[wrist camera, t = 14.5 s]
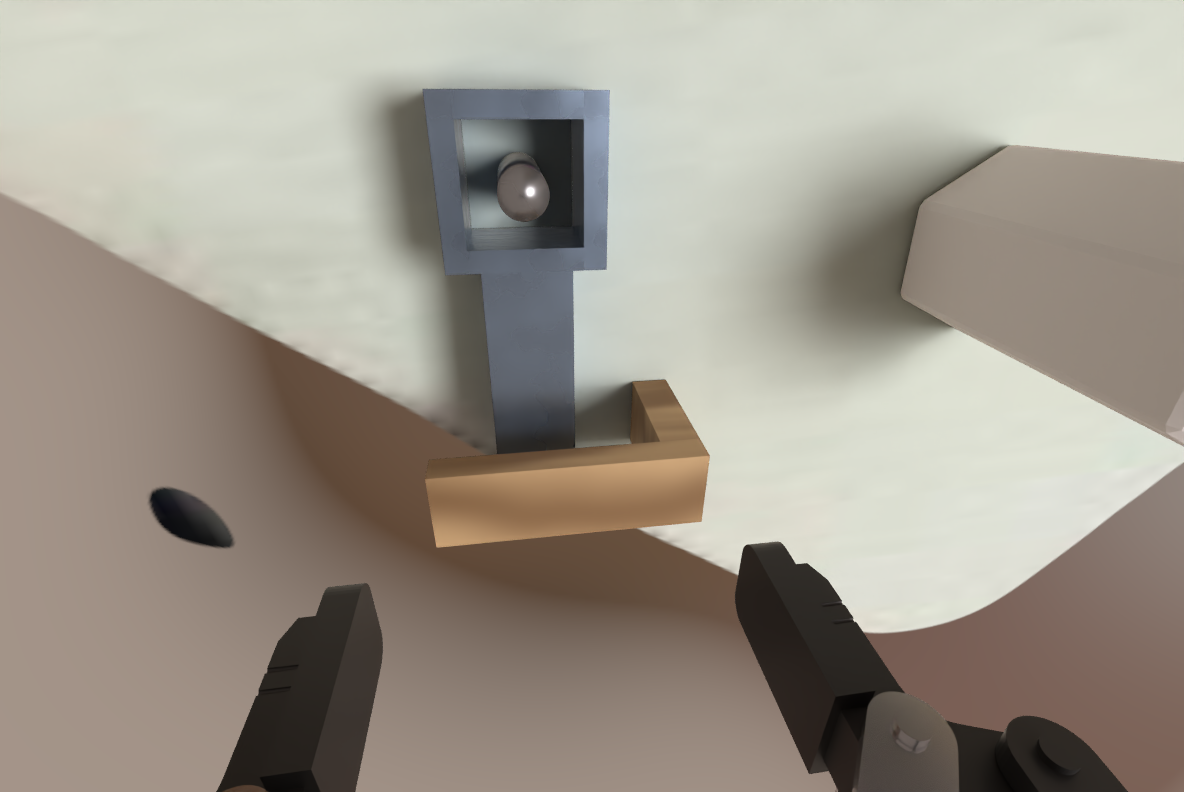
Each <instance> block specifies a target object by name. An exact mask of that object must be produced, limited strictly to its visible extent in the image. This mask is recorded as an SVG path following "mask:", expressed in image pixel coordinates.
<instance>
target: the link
mask: <svg viewBox="0 0 1184 792" xmlns="http://www.w3.org/2000/svg"><path fill="white" fill-rule="evenodd" d="M609 94H610V90H499V89H423V96H424V104H425V112H426V120H427V129H428V137H429V145H430V153H431V161H432V169H433V178H434V186H435V194H436V202H437V210H438V218H439V227H440V235H441V243H442V251H443V259H444V268H445V275H468V274H481V280H482V291H483V302H484V313H485V324H486V335H487V346H488V356H489V367H490V378H491V389H492V400H493V411H494V422H495V433H496V444H497V454H509V453H522V452H535V451H547V450H560V449H573V448H575V407H574V320H573V271H579V270H606V266H607V208H608V151H609ZM461 119H571V158H572V226H556V227H517V228H478V229H471V219H470V209H469V198H468V188H467V178H466V167H465V157H464V146H463V136H462V125H461Z"/></svg>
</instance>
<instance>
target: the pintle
mask: <svg viewBox="0 0 1184 792" xmlns="http://www.w3.org/2000/svg"><path fill="white" fill-rule="evenodd" d="M497 197H498V202H499V204H500V207H501V208H502V210H503V211H504V212H505V214H506V215H508V216H509V217H510V218H512V219H514V220H517V221H522V222H526V221H532V220H534V219H536V218H538V217H539V216H541V215H542V214H543V213H544V211H545V210H546V208H547V206H548V203H549V198H550V193H549V187H548V184H547V182H546V180H545V178H544V177H543V175H542V173H541V171H540V169H539V167H538V165H537V163H536V162H535V161H534V159H533V158H532V157H530V156H529V155H527V154H525V153H521V152H514V153H511V154H508V155H507V156H505V157H504V158H503V159H502V161H501V162H500V164H499V167H498V176H497Z"/></svg>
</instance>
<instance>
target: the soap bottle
mask: <svg viewBox="0 0 1184 792" xmlns="http://www.w3.org/2000/svg"><path fill="white" fill-rule="evenodd" d="M901 296H902V299H904V300H906V301H907V302H909V303H911V304H913V305H914V306H916V307H918V308H920V309H922V310H923V311H925V312H927V313H929V314H930V315H932V316H934V317H936V318H938V319H939V320H941V321H943V322H945V323H947V324H948V325H950V326H952V327H954V328H955V329H957V330H959V331H961V332H963V333H965V334H967V335H969V336H971V337H973V338H975V339H977V340H979V341H980V342H982V343H984V344H986V345H988V346H990V347H992V348H994V349H996V350H998V351H1000V352H1002V353H1004V354H1006V355H1008V356H1010V357H1011V358H1013V359H1015V360H1017V361H1019V362H1021V363H1023V364H1025V365H1027V366H1029V367H1031V368H1033V369H1035V370H1037V371H1039V372H1040V373H1042V374H1044V375H1046V376H1048V377H1050V378H1052V379H1054V380H1056V381H1058V382H1060V383H1062V384H1064V385H1066V386H1068V387H1070V388H1071V389H1073V390H1075V391H1077V392H1079V393H1081V394H1083V395H1085V396H1087V397H1089V398H1091V399H1093V400H1095V401H1097V402H1099V403H1101V404H1102V405H1104V406H1106V407H1108V408H1110V409H1112V410H1114V411H1116V412H1118V413H1120V414H1122V415H1124V416H1126V417H1128V418H1130V419H1132V420H1133V421H1135V422H1137V423H1139V424H1141V425H1143V426H1145V427H1147V428H1149V429H1151V430H1153V431H1155V432H1157V433H1159V434H1161V435H1163V436H1164V437H1166V438H1168V439H1170V440H1172V441H1174V442H1176V443H1178V444H1180V445H1182V446H1184V162H1178V161H1168V160H1158V159H1149V158H1139V157H1129V156H1119V155H1109V154H1099V153H1089V152H1079V151H1069V150H1059V149H1049V148H1039V147H1029V146H1020V145H1013V146H1008V147H1006V148H1004V149H1003V150H1001V151H1000V152H998V153H997V154H995V155H994V156H992V157H990V158H989V159H987V160H986V161H984V162H983V163H981V164H980V165H978V166H976V167H975V168H973V169H972V170H970V171H969V172H967V173H966V174H964V175H962V176H961V177H959V178H958V179H956V180H955V181H953V182H952V183H950V184H949V185H947V186H945V187H944V188H942V189H941V190H939V191H938V192H936V193H935V194H933V195H931V196H930V197H928V198H927V199H925V200H924V201H923V203H922V204H921V205H920V207H919V211H918V216H917V220H916V225H915V229H914V234H913V238H912V243H911V247H910V252H909V256H908V261H907V265H906V270H905V274H904V279H903V283H902V288H901Z"/></svg>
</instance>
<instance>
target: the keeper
mask: <svg viewBox="0 0 1184 792" xmlns="http://www.w3.org/2000/svg"><path fill="white" fill-rule="evenodd" d="M630 440H631V443H632V444H624V445H612V446H599V447H586V448H573V449H560V450H547V451H535V452H522V453H509V454H496V455H483V456H472V457H471V456H470V457H458V458H445V459H432V460H429V461H428V467H427V472H426V478H425V482H426V487H427V493H428V499H429V505H430V511H431V517H432V523H433V528H434V534H435V540H436V546H437V547H447V546H457V545H467V544H477V543H488V542H498V541H508V540H519V539H529V538H539V537H549V536H559V535H570V534H580V533H589V532H600V531H610V530H621V529H631V528H641V527H651V526H662V525H672V524H682V523H692V522H701V521H702V513H703V505H704V497H705V490H706V482H707V474H708V466H709V458H710V455H709V454H708V452H707V450H706V448H705V447H704V445H703V443H702V442H701V440H700V438H699V436H698V435H697V433H696V431H695V430H694V428H693V426H692V424H691V423H690V421H689V419H688V417H687V416H686V414H685V412H684V411H683V409H682V407H681V405H680V404H679V402H678V400H677V399H676V397H675V395H674V393H673V392H672V390H671V388H670V386H669V385H668V383H667V381H666V380H653V381H637V382H633V384H632V406H631V429H630Z"/></svg>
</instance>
